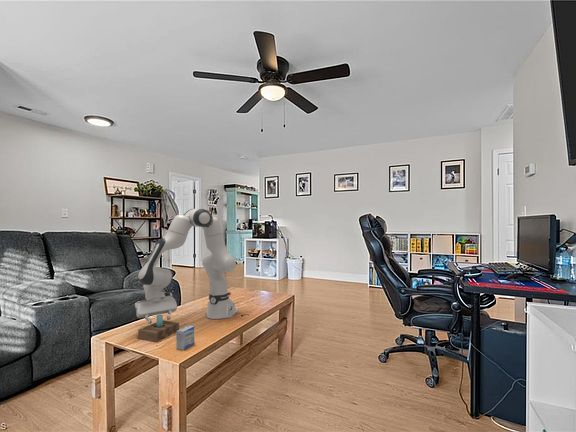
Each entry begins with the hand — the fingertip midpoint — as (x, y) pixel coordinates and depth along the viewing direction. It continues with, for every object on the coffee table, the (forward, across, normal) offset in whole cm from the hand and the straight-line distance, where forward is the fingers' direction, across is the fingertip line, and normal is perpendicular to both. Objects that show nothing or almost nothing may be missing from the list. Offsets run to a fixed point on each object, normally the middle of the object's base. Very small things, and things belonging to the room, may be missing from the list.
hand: (159, 321), depth 153 cm
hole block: (+5, 0, +6) cm, 7 cm away
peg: (+5, 0, +6) cm, 7 cm away
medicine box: (+22, +5, -11) cm, 25 cm away
